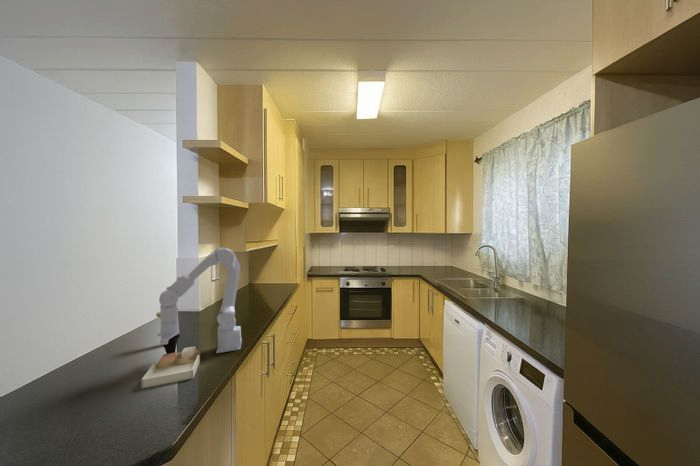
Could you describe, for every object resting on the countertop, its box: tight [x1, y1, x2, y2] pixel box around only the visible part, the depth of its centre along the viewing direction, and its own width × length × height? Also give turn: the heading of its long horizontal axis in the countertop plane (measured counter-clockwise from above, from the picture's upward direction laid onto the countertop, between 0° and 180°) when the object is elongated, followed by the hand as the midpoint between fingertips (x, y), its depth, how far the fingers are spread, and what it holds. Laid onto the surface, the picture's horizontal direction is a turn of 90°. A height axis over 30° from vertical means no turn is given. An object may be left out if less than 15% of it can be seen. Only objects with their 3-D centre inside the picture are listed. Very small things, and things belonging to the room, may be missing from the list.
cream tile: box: [180, 346, 196, 357], centre depth 104 cm, size 4×4×2 cm
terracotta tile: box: [159, 351, 177, 364], centre depth 99 cm, size 4×4×2 cm
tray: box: [140, 355, 201, 390], centre depth 94 cm, size 15×12×3 cm
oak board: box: [156, 348, 202, 369], centre depth 103 cm, size 13×7×2 cm, turn 110°
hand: (171, 355), depth 102 cm, fingers closed
